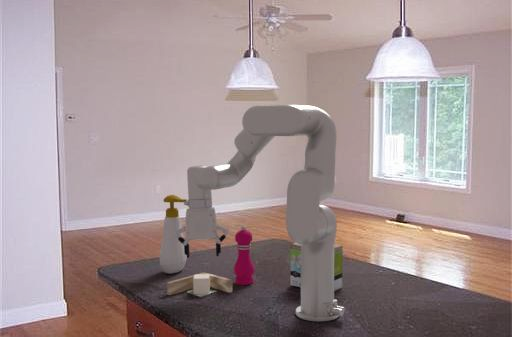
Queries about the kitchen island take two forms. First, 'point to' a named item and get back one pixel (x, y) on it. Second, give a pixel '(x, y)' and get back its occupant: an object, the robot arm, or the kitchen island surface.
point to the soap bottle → (172, 239)
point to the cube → (201, 283)
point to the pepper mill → (244, 258)
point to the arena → (187, 284)
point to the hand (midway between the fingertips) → (203, 256)
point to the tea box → (296, 265)
